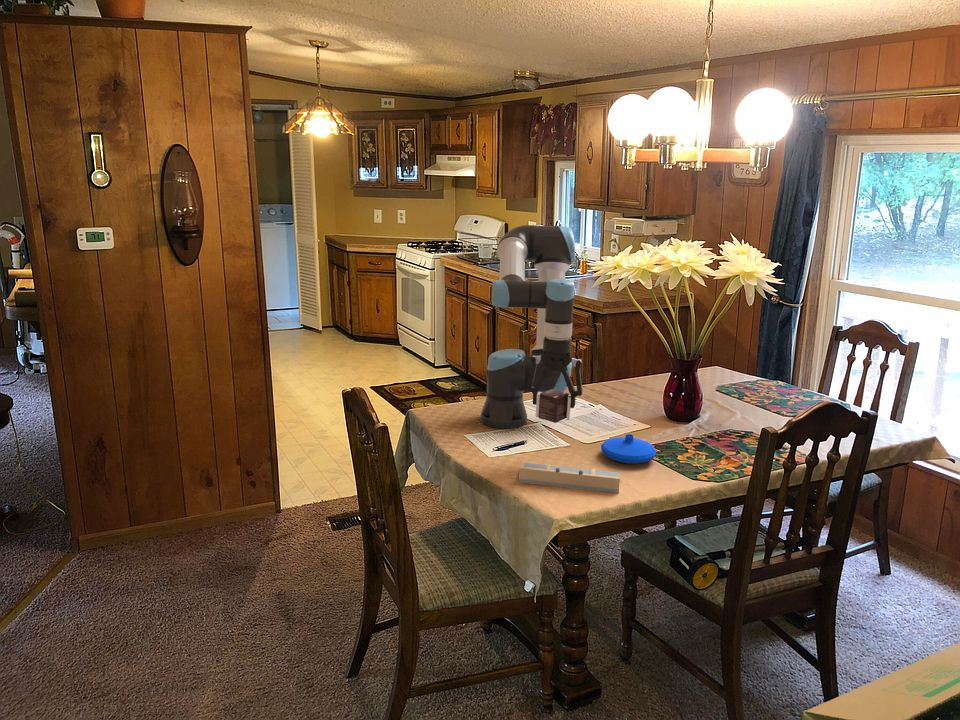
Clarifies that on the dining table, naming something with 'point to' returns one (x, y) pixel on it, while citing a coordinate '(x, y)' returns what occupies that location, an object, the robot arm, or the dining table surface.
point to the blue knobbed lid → (628, 449)
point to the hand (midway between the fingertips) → (552, 417)
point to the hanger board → (569, 477)
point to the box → (553, 405)
